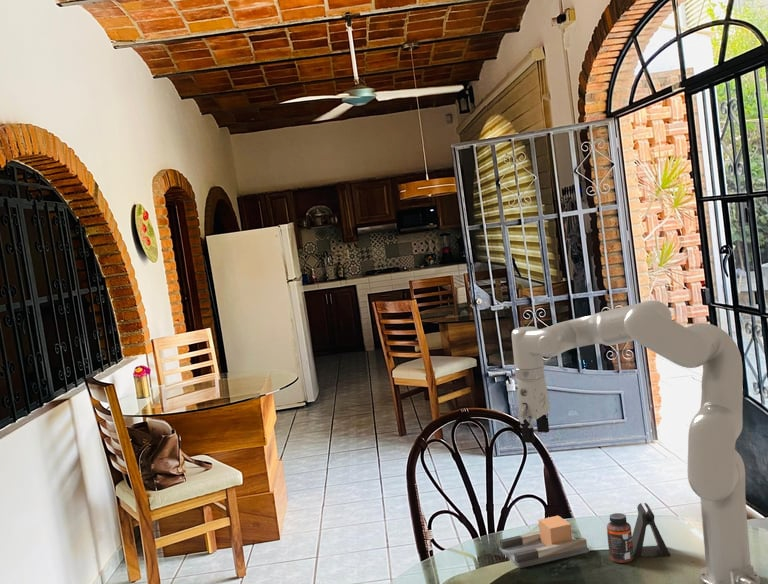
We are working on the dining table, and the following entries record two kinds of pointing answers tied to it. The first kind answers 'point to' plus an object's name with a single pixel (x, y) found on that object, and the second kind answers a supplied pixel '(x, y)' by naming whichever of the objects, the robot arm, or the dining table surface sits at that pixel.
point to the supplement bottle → (619, 539)
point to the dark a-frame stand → (639, 534)
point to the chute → (539, 549)
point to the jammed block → (554, 530)
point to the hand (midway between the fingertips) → (536, 437)
